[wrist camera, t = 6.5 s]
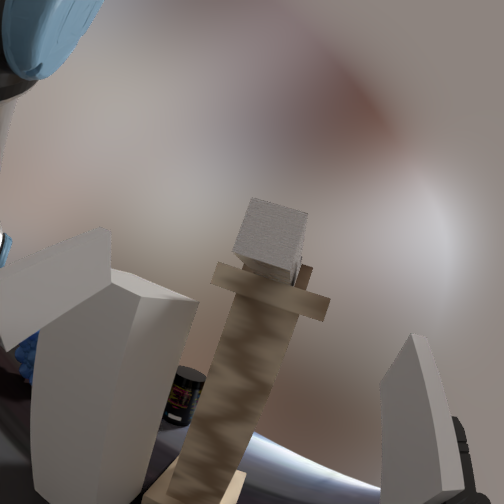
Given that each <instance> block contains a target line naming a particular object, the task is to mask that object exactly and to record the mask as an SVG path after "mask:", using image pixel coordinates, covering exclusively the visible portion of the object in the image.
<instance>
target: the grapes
mask: <svg viewBox="0 0 504 504" xmlns="http://www.w3.org/2000/svg"><path fill="white" fill-rule="evenodd" d="M39 331H40V330H38V331H37V332H35V333H34V334H32V335H31V336H29V337H28V338H26V339H25V340H23V341H22V342H20V343H19V345H20V346H21V347H18V348H17V349H16V351H15V358H16V359H17V361H19V362H20V363H23V364H21V366H20V368H19V372H20V374H21V376H22V377H24V378H28V379H29V382H30V385H31V386H32V382H33V372H34V363H35V356H36V349H37V342H38V336H39Z"/></svg>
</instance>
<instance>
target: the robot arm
mask: <svg viewBox="0 0 504 504" xmlns="http://www.w3.org/2000/svg"><path fill="white" fill-rule="evenodd" d="M103 2H104V0H0V170H1V164H2V159H3V153H4V148H5V144H6V139H7V135H8V131H9V127H10V123H11V119H12V116H13V113H14V109H15V106H16V102H17V99H18V97H20V96H22V95H24V94H26V93H27V92H28V91H30V90H31V89H32V88H33V87H34V86H35V85H36V84H37V82H38V81H39V80H41V79H44V78H47V77H49V76H50V75H52V74H53V73H54V72H55V71H56V70H57V69H58V68H59V67H60V66H61V65H62V64H63V63H64V62H65V60H66V59H67V58H68V57H69V55H70V54H71V53H72V51H73V50H74V48H75V47H76V45H77V43H78V41H79V39H80V37H81V36H83V35H84V34H85V32H86V31H87V29H88V28H89V26H90V24H91V23H92V21H93V19H94V18H95V16H96V14H97V12H98V11H99V9H100V7H101V5H102V4H103ZM11 245H12V239H11V237H9V236H8V235H7V234H6V233H2V226H1V223H0V345H1V346H2V347H3V348H4V350H5V351H6V352H8V351H9V350H10V349H12V348H13V347H15V346H16V345H18V344H19V343H20V342H22V341H23V340H25V339H26V338H28V337H29V336H31V335H32V334H34V333H35V332H37V331H38V330H40V329H41V328H43V327H44V326H46V325H47V324H49V323H50V322H52V321H53V320H55V319H56V318H58V317H59V316H61V315H62V314H64V313H66V312H67V311H69V310H70V309H72V308H73V307H75V306H76V305H78V304H80V303H81V302H83V301H84V300H86V299H88V298H89V297H91V296H92V295H94V294H96V293H97V292H99V291H100V290H102V289H104V288H105V287H107V286H108V285H110V284H111V231H109V230H107V229H104V228H102V227H99V228H96V229H93V230H91V231H88V232H86V233H83V234H80V235H78V236H75V237H72V238H70V239H67V240H65V241H62V242H60V243H57V244H55V245H52V246H50V247H47V248H45V249H43V250H40V251H38V252H36V253H33V254H31V255H29V256H26V257H24V258H22V259H20V260H17V261H15V262H13V263H11V264H9V265H6V266H4V265H5V262H6V259H7V256H8V253H9V250H10V248H11ZM380 397H381V419H382V475H381V494H380V504H491V503H490V500H489V499H488V498H487V496H486V495H484V494H482V493H477V492H476V488H475V481H474V474H473V468H472V463H471V458H470V454H468V453H469V448H468V444H466V442H467V439H466V435H465V431H464V428H463V427H462V424H461V423H460V421H459V420H458V418H457V417H453V416H451V413H450V409H449V405H448V402H447V398H446V395H445V391H444V388H443V384H442V381H441V378H440V374H439V371H438V368H437V365H436V362H435V359H434V356H433V353H432V351H431V348H430V345H429V342H428V340H427V337H424V336H420V335H417V334H413V333H411V334H410V335H409V337H408V339H407V340H406V342H405V344H404V346H403V347H402V349H401V351H400V352H399V354H398V356H397V358H396V359H395V360H394V362H393V364H392V365H391V367H390V368H389V370H388V371H387V373H386V374H385V376H384V378H383V379H382V380H381V382H380Z"/></svg>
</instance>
